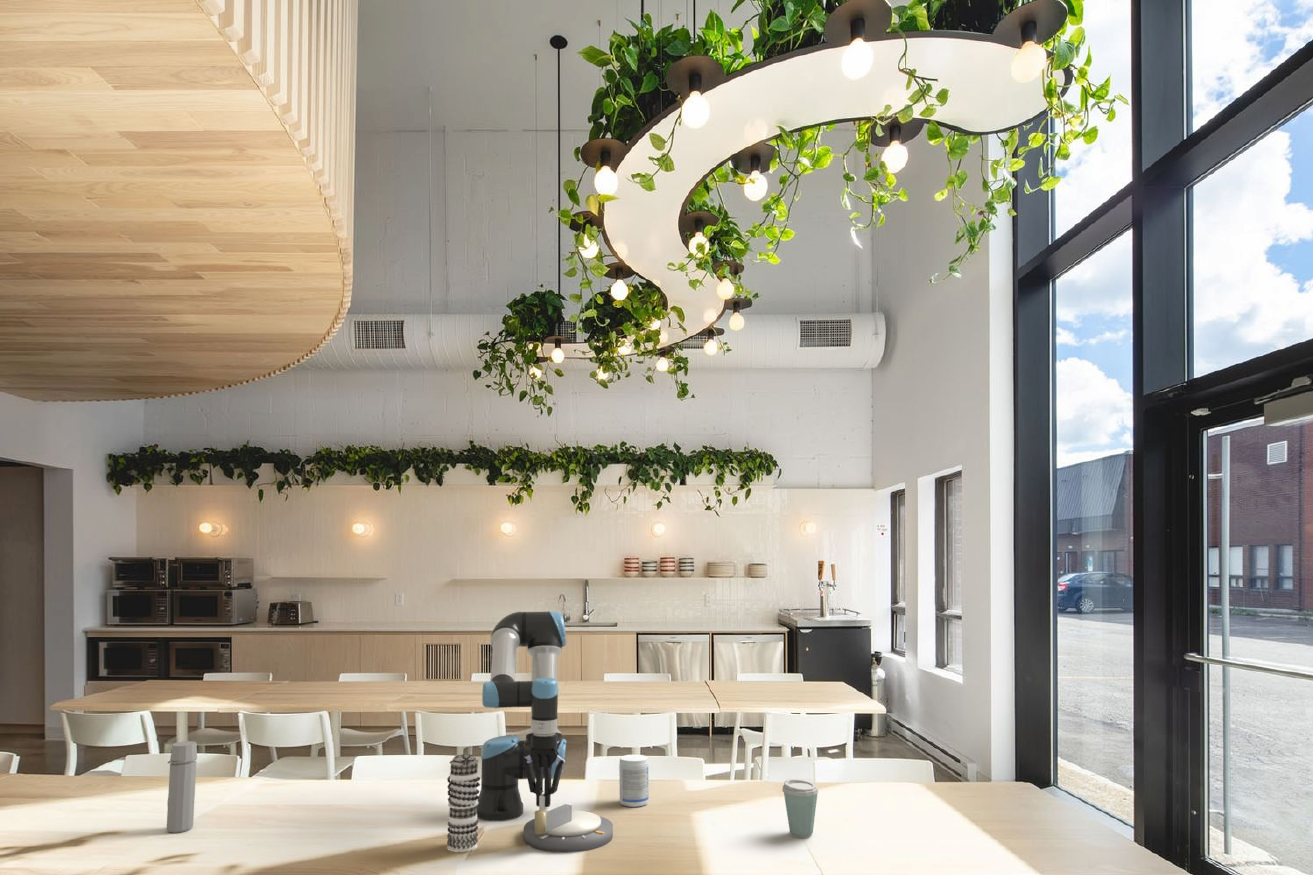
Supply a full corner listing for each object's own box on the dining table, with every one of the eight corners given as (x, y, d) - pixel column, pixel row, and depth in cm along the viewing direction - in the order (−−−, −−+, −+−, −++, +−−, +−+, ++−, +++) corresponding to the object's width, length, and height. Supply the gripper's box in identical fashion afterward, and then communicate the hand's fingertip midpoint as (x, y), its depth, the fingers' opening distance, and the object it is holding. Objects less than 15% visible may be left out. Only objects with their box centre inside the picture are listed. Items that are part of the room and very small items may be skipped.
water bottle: (199, 827, 275) (204, 742, 278) (176, 835, 268) (181, 747, 271) (178, 823, 279) (183, 739, 282) (155, 830, 272) (160, 744, 275)
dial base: (504, 841, 264) (505, 829, 264) (560, 817, 286) (560, 806, 286) (577, 858, 250) (577, 845, 250) (629, 832, 272) (629, 820, 272)
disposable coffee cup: (821, 831, 273) (821, 779, 275) (816, 842, 263) (815, 788, 265) (786, 827, 277) (786, 776, 278) (779, 838, 267) (778, 785, 268)
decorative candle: (462, 854, 253) (465, 761, 255) (438, 848, 257) (441, 757, 260) (485, 845, 260) (487, 754, 263) (461, 839, 265) (463, 750, 268)
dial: (562, 811, 281) (562, 787, 282) (613, 822, 271) (613, 797, 272) (510, 833, 261) (511, 807, 262) (563, 845, 251) (563, 818, 252)
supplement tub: (654, 804, 299) (654, 758, 301) (629, 809, 294) (629, 762, 296) (638, 797, 308) (638, 752, 309) (613, 802, 302) (614, 756, 304)
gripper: (518, 735, 263) (516, 820, 260) (561, 737, 260) (560, 823, 257) (527, 729, 270) (526, 812, 268) (569, 732, 267) (568, 815, 265)
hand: (543, 818), depth 262 cm, fingers closed
